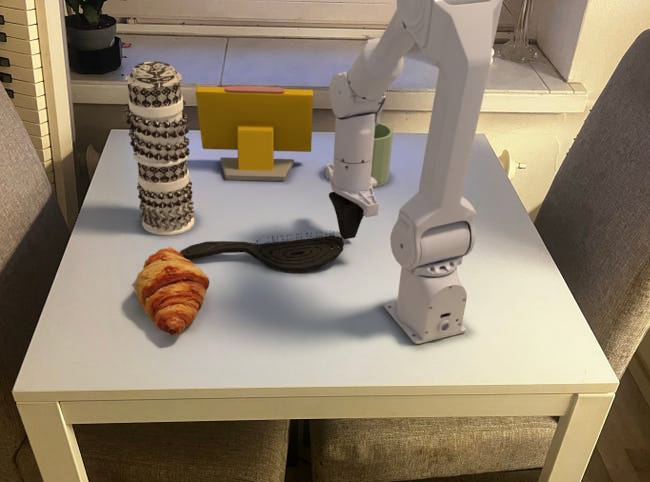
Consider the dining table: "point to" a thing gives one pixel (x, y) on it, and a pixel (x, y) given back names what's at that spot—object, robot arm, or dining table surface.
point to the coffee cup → (381, 153)
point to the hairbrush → (277, 252)
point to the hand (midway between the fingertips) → (347, 236)
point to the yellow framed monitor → (255, 128)
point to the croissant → (171, 290)
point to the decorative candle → (160, 147)
